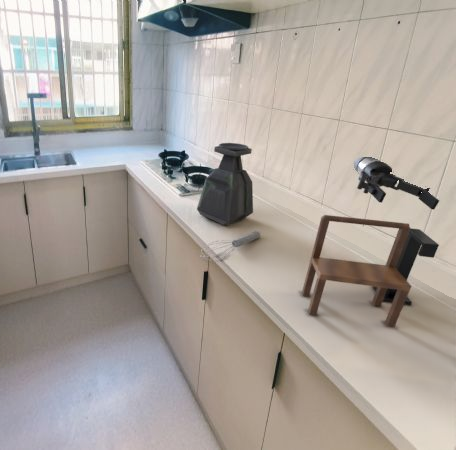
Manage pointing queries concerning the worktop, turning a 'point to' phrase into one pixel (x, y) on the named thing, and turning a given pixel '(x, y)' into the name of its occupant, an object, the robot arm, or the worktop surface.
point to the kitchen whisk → (236, 243)
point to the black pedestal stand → (411, 257)
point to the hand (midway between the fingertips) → (409, 201)
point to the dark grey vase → (227, 187)
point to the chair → (359, 269)
